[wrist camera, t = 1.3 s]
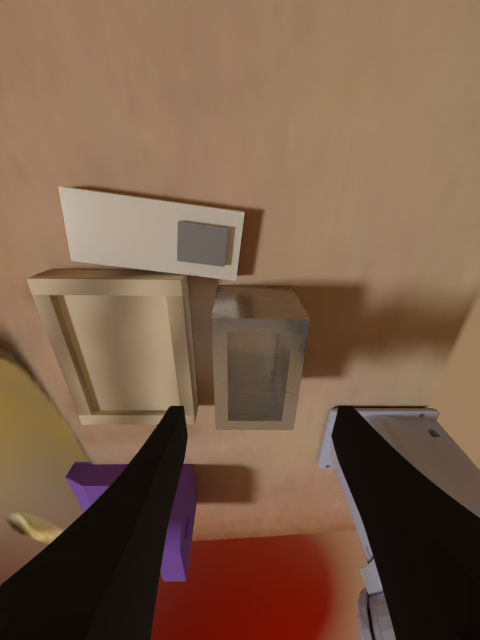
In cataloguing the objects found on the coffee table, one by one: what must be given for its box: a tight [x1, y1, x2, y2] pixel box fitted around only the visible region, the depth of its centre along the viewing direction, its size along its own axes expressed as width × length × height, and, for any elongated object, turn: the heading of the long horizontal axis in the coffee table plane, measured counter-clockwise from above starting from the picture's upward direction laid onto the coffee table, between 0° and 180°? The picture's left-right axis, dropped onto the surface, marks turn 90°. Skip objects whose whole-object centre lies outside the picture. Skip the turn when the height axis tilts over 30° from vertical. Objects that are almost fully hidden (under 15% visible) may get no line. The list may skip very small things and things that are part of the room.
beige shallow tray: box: [26, 270, 198, 424], centre depth 18 cm, size 9×12×2 cm
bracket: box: [66, 462, 197, 581], centre depth 24 cm, size 12×7×7 cm, turn 90°
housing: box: [211, 286, 310, 430], centre depth 17 cm, size 5×8×5 cm, turn 179°
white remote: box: [58, 186, 245, 281], centre depth 15 cm, size 4×10×2 cm, turn 83°
